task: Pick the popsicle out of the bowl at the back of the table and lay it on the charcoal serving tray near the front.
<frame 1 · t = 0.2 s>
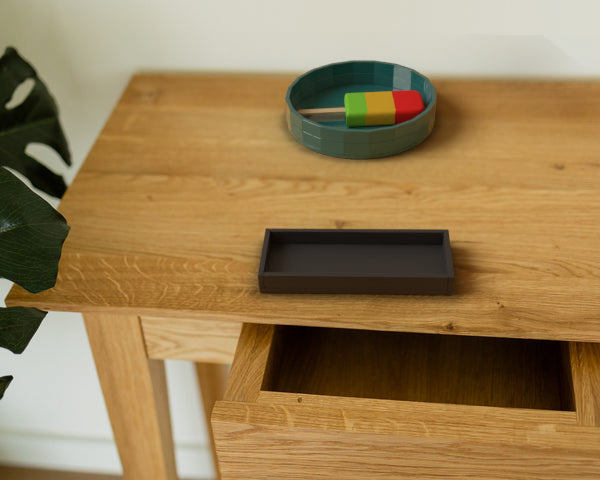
tray: (355, 269, 71), on the table
bowl: (360, 120, 92), on the table
popsicle: (360, 117, 92), resting on bowl
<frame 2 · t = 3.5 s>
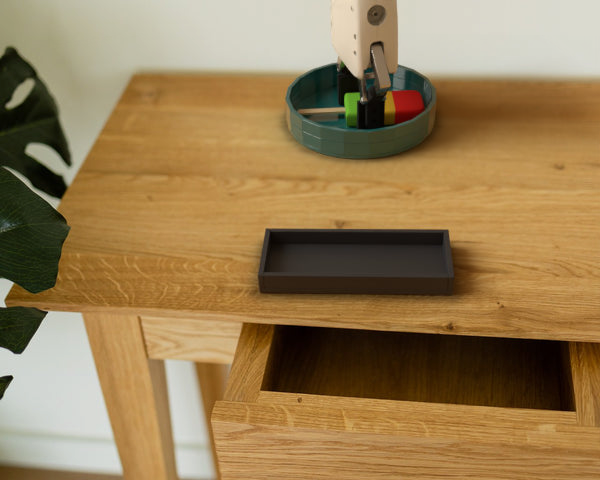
hand: (360, 115, 91), 1 cm above the table, tool pointing down, fingers closed on popsicle, 6 cm apart
popsicle: (360, 117, 92), resting on bowl, touching gripper
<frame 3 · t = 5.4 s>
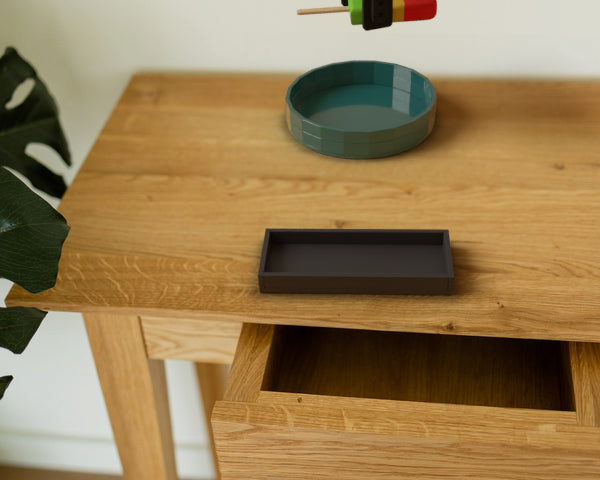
hand: (366, 14, 83), 13 cm above the table, tool pointing down, fingers closed on popsicle, 6 cm apart
popsicle: (365, 17, 83), point 13 cm above the table, touching gripper
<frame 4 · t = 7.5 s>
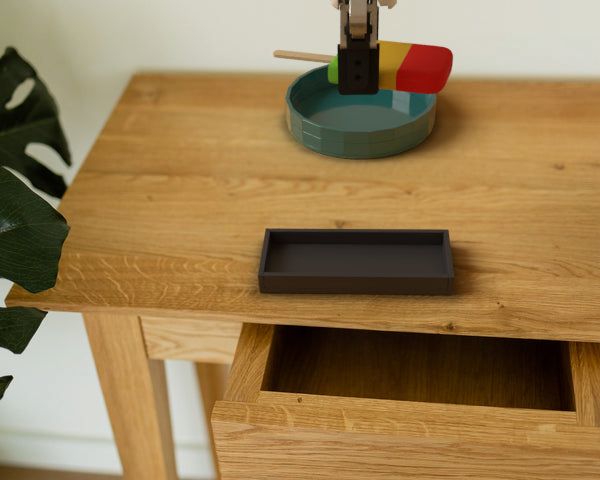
hand: (358, 70, 63), 17 cm above the table, tool pointing down, fingers closed on popsicle, 6 cm apart
popsicle: (358, 74, 63), point 17 cm above the table, touching gripper
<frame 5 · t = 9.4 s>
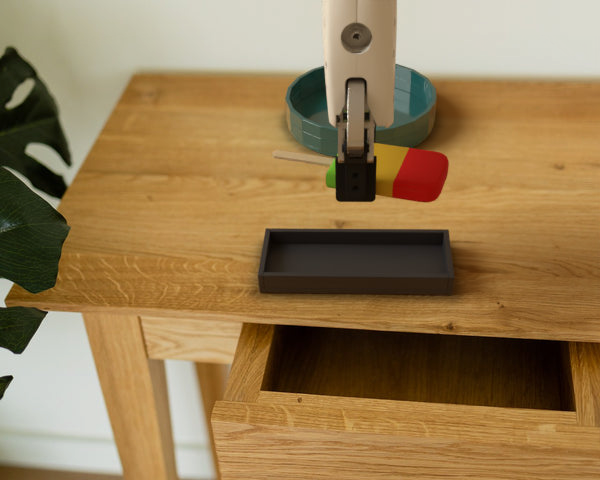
hand: (356, 174, 64), 11 cm above the table, tool pointing down, fingers closed on popsicle, 6 cm apart
popsicle: (355, 176, 65), point 10 cm above the table, touching gripper
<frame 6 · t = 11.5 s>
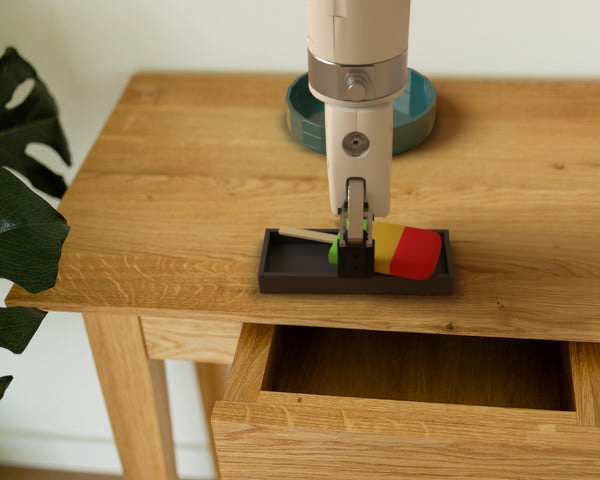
hand: (356, 249, 70), 2 cm above the table, tool pointing down, fingers closed on popsicle, 6 cm apart
popsicle: (356, 252, 70), point 2 cm above the table, touching gripper, tray
when the fingers open (2 cm above the table, at t = 11.6 s): popsicle stays where it is, resting on tray.
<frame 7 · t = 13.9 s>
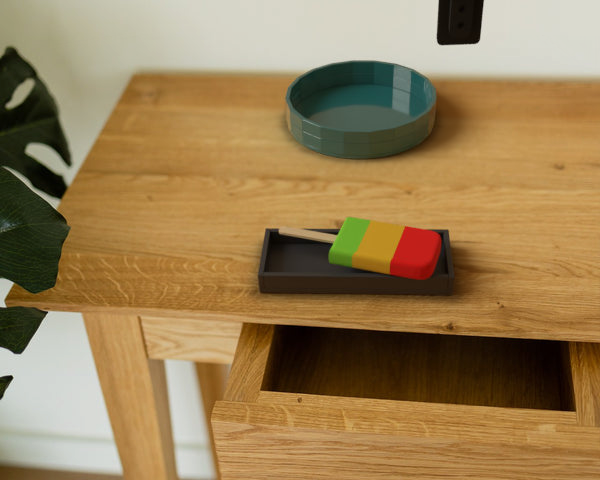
hand: (452, 16, 61), 21 cm above the table, tool pointing down, fingers open, 9 cm apart
popsicle: (356, 252, 70), point 2 cm above the table, touching tray
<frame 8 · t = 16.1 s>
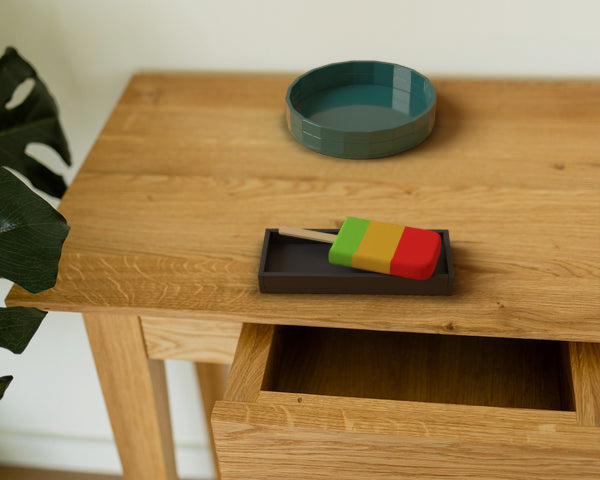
nothing on the table moved.
at the end: popsicle inside the target area in the tray (0.1 cm from its centre), point 1.9 cm above the tray's base; the gripper is holding nothing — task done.
